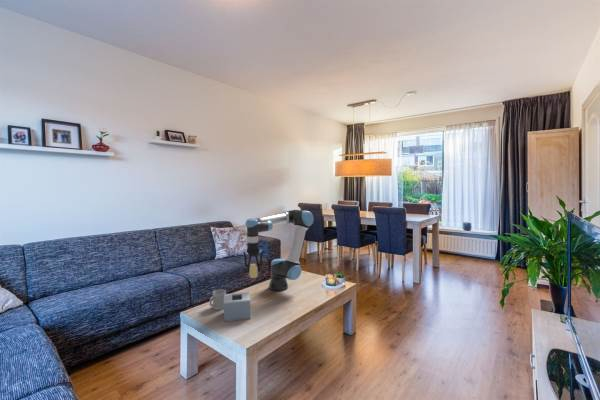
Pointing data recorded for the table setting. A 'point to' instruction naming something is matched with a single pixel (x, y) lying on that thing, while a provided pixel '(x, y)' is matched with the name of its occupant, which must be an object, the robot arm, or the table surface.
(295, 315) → the table surface
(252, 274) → the gold rectangular block
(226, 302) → the grey box with hole
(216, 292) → the mug
